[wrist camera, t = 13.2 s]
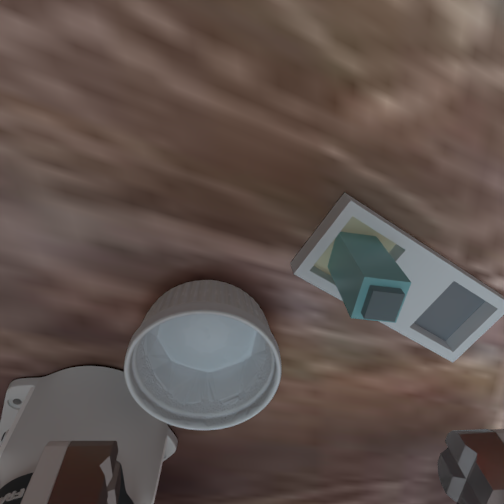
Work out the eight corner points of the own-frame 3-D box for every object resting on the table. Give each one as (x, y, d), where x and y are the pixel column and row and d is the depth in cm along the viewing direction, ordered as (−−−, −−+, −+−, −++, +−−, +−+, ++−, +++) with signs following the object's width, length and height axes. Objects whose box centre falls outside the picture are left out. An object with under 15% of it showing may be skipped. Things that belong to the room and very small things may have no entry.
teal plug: (364, 271, 40) (399, 329, 32) (327, 266, 39) (353, 324, 32) (376, 236, 38) (416, 288, 30) (337, 231, 38) (367, 282, 30)
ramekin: (111, 339, 42) (93, 392, 36) (186, 240, 38) (179, 281, 32) (222, 394, 46) (222, 450, 40) (300, 311, 42) (314, 359, 36)
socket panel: (443, 349, 45) (453, 362, 43) (290, 263, 39) (293, 273, 38) (500, 294, 42) (513, 305, 41) (344, 192, 37) (350, 200, 35)
